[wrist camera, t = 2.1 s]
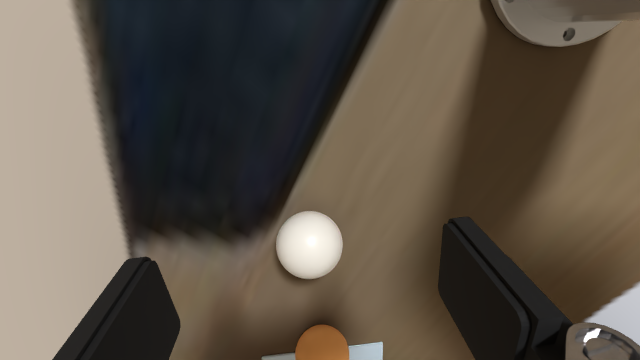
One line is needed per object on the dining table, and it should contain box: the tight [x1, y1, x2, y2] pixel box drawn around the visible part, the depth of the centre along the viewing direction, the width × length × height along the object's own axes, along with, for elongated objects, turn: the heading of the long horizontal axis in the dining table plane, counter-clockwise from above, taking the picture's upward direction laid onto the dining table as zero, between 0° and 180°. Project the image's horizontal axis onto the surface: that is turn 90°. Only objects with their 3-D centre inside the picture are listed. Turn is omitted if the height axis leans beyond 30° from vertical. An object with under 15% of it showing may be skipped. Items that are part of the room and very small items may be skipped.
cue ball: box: [276, 211, 343, 279], centre depth 27 cm, size 6×6×6 cm
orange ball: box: [295, 325, 349, 360], centre depth 33 cm, size 6×6×6 cm
